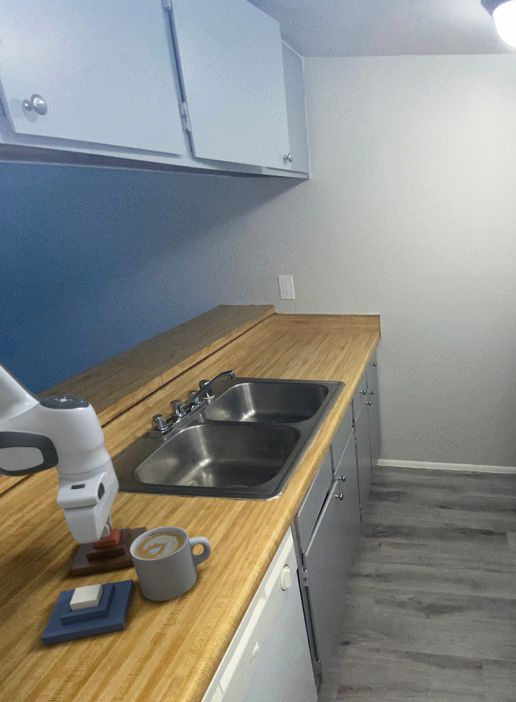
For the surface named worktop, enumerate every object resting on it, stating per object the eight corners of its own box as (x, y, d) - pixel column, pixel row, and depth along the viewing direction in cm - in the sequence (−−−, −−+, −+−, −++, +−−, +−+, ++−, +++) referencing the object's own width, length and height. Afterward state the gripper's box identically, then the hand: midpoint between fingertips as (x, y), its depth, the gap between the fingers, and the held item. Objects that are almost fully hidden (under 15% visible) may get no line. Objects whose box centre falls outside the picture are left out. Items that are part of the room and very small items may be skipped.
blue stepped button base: (44, 645, 79) (37, 630, 78) (63, 598, 89) (58, 584, 87) (124, 629, 83) (119, 615, 81) (134, 585, 92) (130, 571, 91)
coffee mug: (140, 606, 88) (127, 565, 83) (143, 571, 96) (132, 532, 91) (216, 588, 92) (208, 548, 88) (213, 556, 100) (206, 518, 96)
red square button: (95, 549, 96) (93, 542, 96) (100, 537, 100) (97, 530, 99) (117, 546, 98) (115, 539, 97) (121, 534, 101) (119, 527, 100)
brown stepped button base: (72, 576, 94) (67, 562, 92) (86, 541, 103) (82, 529, 101) (139, 565, 97) (135, 551, 96) (147, 532, 106) (144, 520, 105)
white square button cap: (72, 611, 82) (69, 604, 81) (78, 595, 86) (75, 587, 85) (98, 606, 83) (95, 599, 83) (103, 590, 87) (101, 583, 86)
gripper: (83, 452, 99) (100, 506, 105) (52, 507, 82) (75, 568, 88) (117, 449, 101) (132, 502, 107) (94, 502, 84) (113, 561, 90)
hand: (106, 532), depth 98 cm, fingers closed
